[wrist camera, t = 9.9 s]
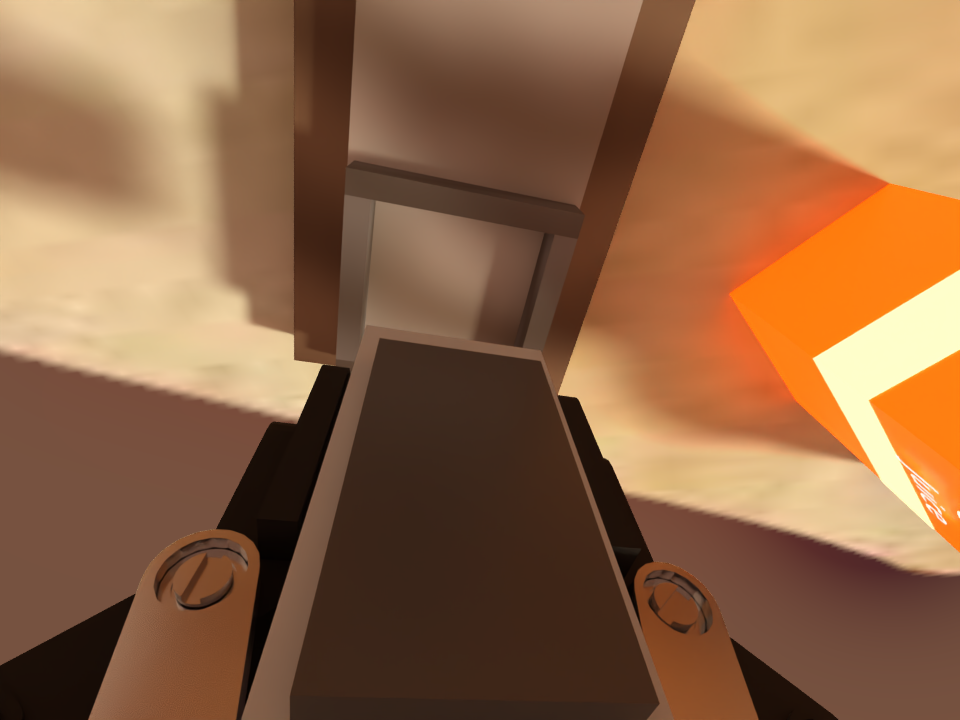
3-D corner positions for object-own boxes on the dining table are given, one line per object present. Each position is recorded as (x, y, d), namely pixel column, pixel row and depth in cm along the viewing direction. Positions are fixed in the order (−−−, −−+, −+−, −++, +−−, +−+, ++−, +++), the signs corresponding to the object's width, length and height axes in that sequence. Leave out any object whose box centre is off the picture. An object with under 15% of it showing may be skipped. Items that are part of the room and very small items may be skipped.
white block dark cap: (368, 304, 10) (200, 796, 3) (546, 331, 11) (736, 790, 4) (354, 459, 12) (238, 946, 5) (502, 474, 13) (570, 927, 6)
